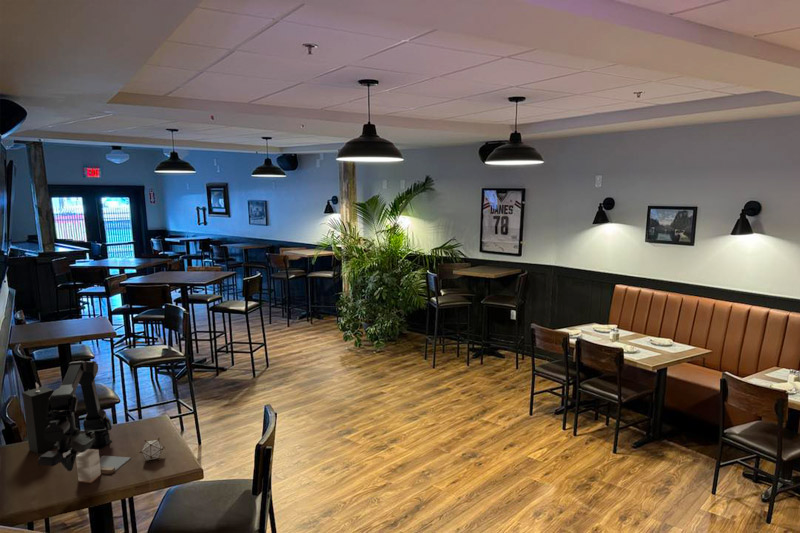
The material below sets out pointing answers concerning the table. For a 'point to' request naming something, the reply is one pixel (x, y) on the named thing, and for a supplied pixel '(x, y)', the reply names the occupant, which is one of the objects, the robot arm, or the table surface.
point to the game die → (152, 449)
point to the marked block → (88, 465)
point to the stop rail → (107, 470)
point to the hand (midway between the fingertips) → (70, 470)
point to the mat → (113, 461)
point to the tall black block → (37, 418)
